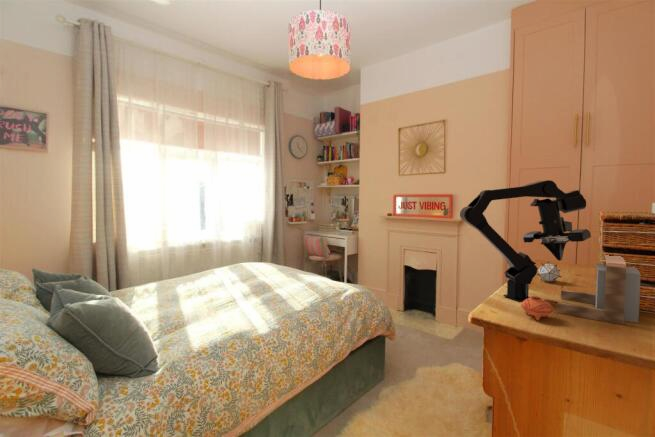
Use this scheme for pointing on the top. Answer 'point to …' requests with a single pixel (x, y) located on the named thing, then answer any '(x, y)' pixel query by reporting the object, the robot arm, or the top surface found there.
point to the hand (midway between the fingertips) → (559, 260)
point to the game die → (548, 272)
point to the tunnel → (612, 296)
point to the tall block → (630, 291)
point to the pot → (537, 307)
